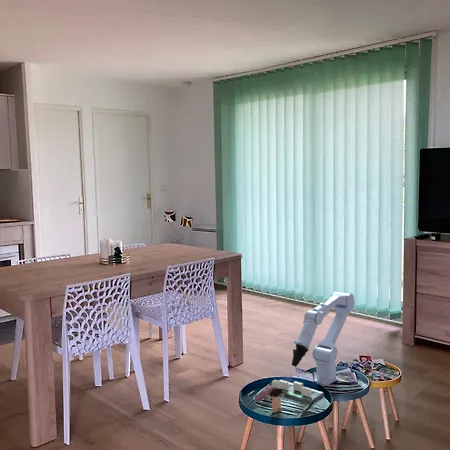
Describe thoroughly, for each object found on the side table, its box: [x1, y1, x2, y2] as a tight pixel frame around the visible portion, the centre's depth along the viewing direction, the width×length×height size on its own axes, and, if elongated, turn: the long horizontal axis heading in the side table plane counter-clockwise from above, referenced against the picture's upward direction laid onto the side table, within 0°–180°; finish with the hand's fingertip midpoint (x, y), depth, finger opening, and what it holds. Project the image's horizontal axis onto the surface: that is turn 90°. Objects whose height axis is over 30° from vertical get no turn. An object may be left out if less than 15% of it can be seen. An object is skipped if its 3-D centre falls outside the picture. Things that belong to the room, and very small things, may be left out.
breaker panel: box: [278, 381, 325, 405], centre depth 223 cm, size 11×19×2 cm, turn 48°
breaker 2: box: [302, 386, 313, 397], centre depth 217 cm, size 2×4×3 cm, turn 48°
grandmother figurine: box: [267, 379, 285, 413], centre depth 207 cm, size 8×4×13 cm, turn 131°
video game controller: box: [254, 384, 274, 402], centre depth 219 cm, size 10×5×7 cm, turn 143°
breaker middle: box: [292, 380, 304, 392], centre depth 222 cm, size 2×4×3 cm, turn 47°
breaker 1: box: [278, 379, 289, 390], centre depth 225 cm, size 2×4×3 cm, turn 48°
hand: (295, 364), depth 219 cm, fingers open, 7 cm apart
